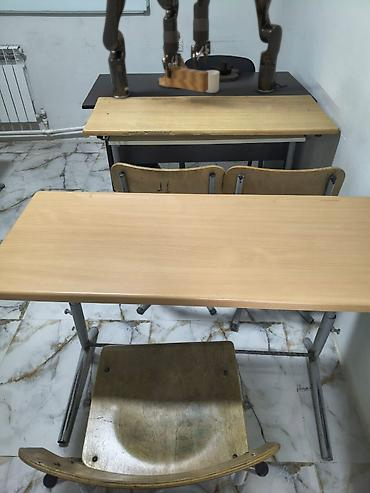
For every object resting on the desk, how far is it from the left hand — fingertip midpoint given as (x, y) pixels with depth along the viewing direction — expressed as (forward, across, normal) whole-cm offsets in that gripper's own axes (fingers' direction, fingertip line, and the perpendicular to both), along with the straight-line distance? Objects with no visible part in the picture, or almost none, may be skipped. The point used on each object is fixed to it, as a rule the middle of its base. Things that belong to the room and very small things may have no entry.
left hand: (172, 76), depth 189 cm
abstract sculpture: (+13, +54, 0) cm, 55 cm away
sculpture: (+13, +30, +18) cm, 37 cm away
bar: (+4, 0, -9) cm, 10 cm away
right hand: (-7, 0, -18) cm, 19 cm away
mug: (+13, +24, -8) cm, 28 cm away
